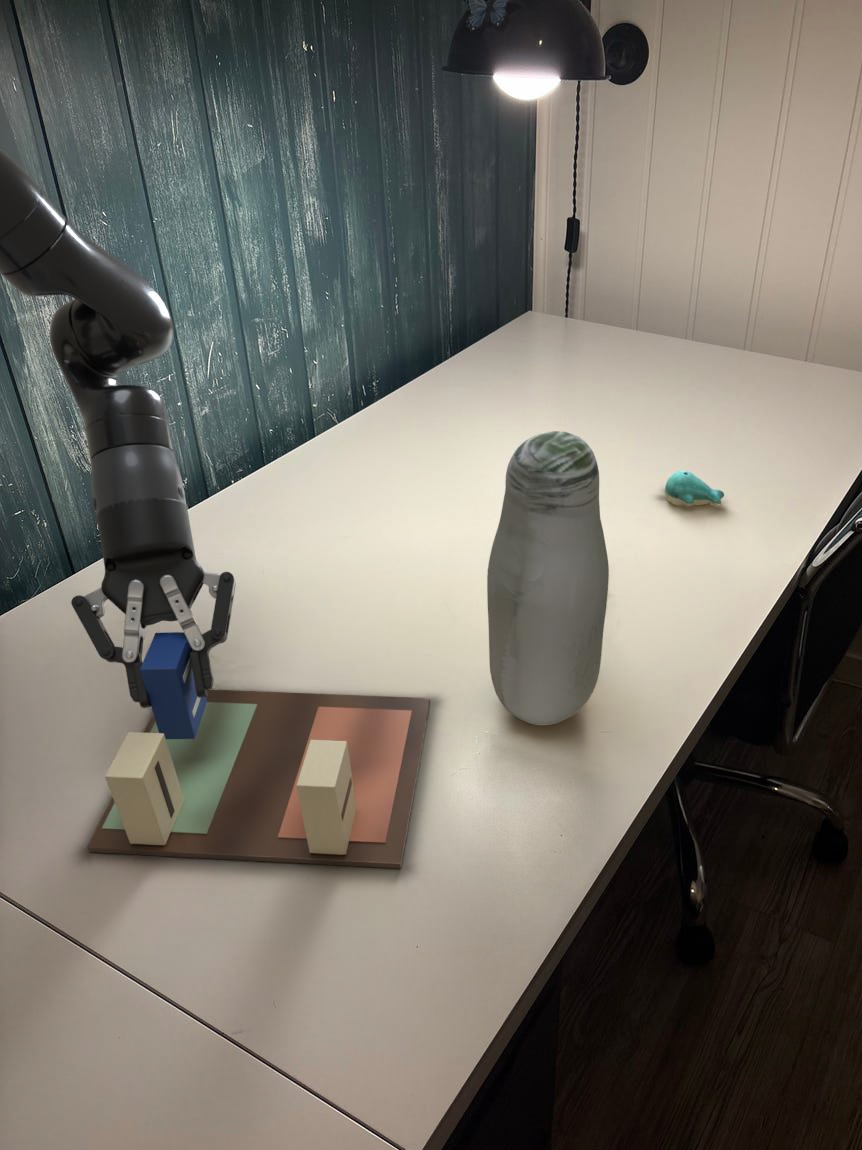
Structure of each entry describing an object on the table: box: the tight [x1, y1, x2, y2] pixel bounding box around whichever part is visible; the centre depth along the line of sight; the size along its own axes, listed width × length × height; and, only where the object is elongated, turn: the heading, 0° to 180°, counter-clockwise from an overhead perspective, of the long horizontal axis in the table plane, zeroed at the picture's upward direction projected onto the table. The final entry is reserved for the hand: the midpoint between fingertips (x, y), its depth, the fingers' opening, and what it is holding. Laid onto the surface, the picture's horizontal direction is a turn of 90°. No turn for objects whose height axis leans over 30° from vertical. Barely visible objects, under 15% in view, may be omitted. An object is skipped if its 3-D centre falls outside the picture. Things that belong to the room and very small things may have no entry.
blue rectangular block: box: [140, 631, 207, 739], centre depth 82 cm, size 3×5×8 cm, turn 1°
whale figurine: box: [664, 470, 725, 507], centre depth 120 cm, size 6×7×4 cm
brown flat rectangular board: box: [86, 688, 431, 869], centre depth 85 cm, size 26×20×1 cm
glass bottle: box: [486, 430, 610, 726], centre depth 82 cm, size 10×10×28 cm
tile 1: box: [104, 731, 184, 845], centre depth 77 cm, size 3×5×8 cm, turn 176°
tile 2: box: [296, 740, 357, 855], centre depth 76 cm, size 3×5×8 cm, turn 175°
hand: (174, 700), depth 81 cm, fingers closed on blue rectangular block, 4 cm apart
